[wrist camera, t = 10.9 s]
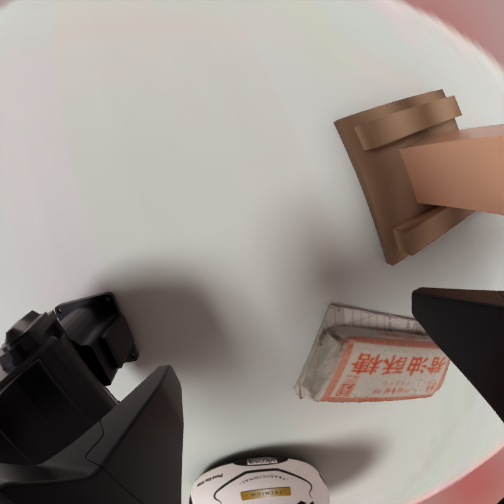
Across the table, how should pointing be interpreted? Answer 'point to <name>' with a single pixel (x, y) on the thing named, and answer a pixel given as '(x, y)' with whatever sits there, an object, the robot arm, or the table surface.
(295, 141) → the table surface
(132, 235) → the table surface
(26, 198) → the table surface
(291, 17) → the table surface
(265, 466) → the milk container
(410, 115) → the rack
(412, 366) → the packaged product
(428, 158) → the clay bar
